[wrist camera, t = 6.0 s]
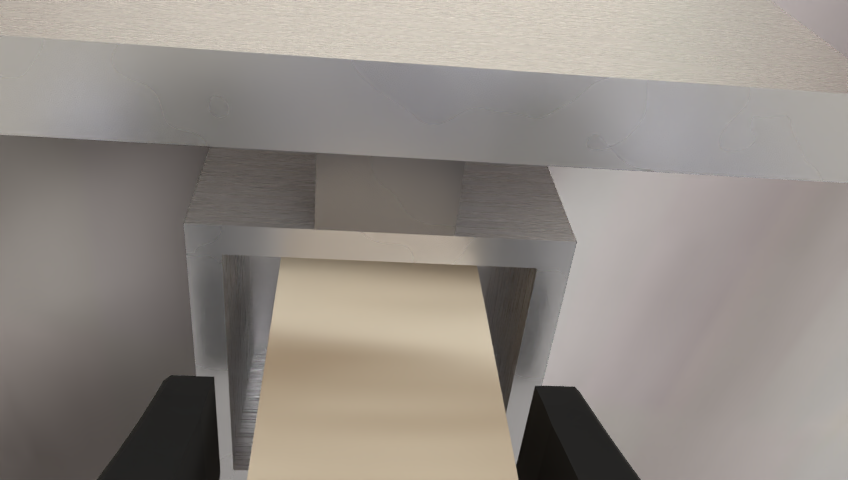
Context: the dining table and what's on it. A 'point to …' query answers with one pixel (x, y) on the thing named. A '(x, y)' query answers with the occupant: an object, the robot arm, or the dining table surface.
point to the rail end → (380, 376)
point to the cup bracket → (416, 137)
